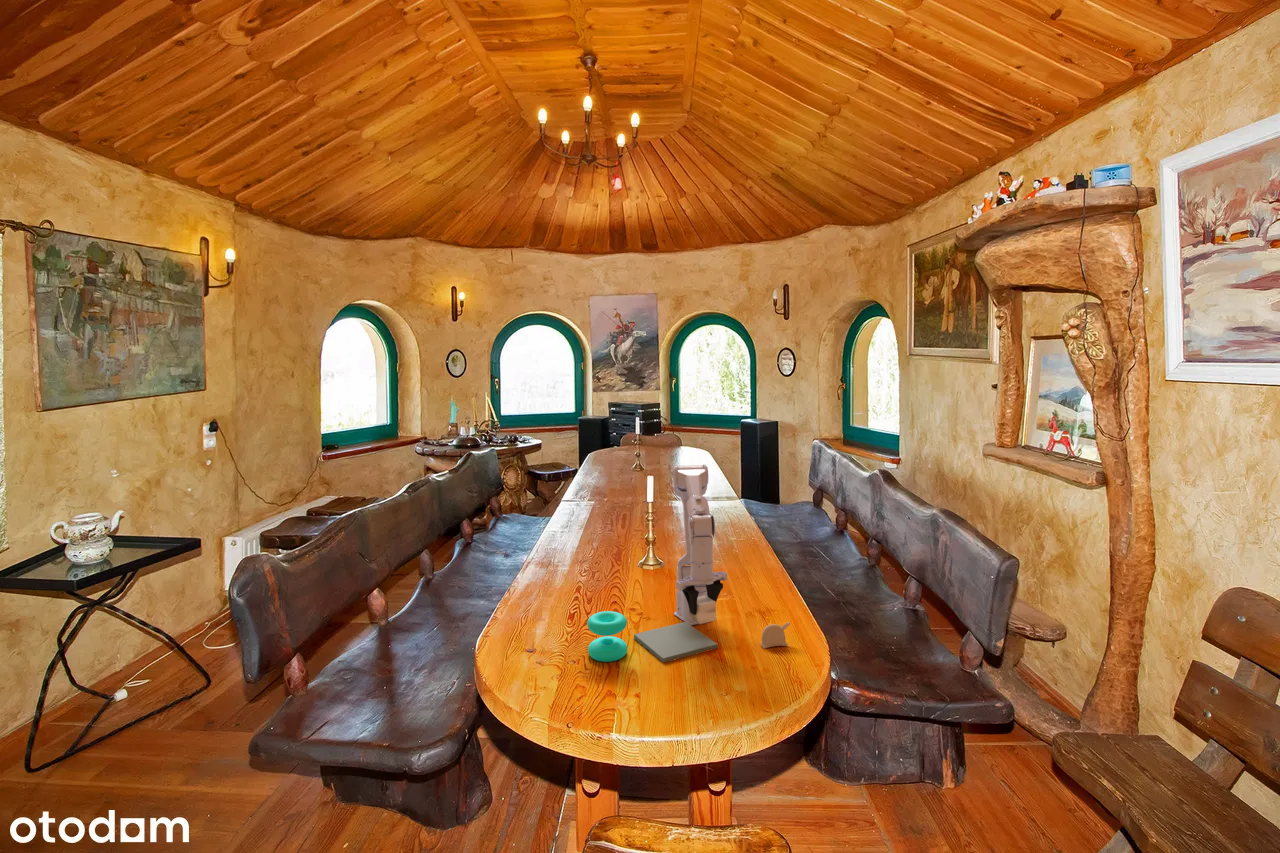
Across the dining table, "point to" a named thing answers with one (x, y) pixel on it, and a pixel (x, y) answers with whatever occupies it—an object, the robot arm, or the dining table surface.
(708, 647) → the board
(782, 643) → the decorative ornament
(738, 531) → the dining table surface
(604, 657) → the donuts
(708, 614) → the cream cube
